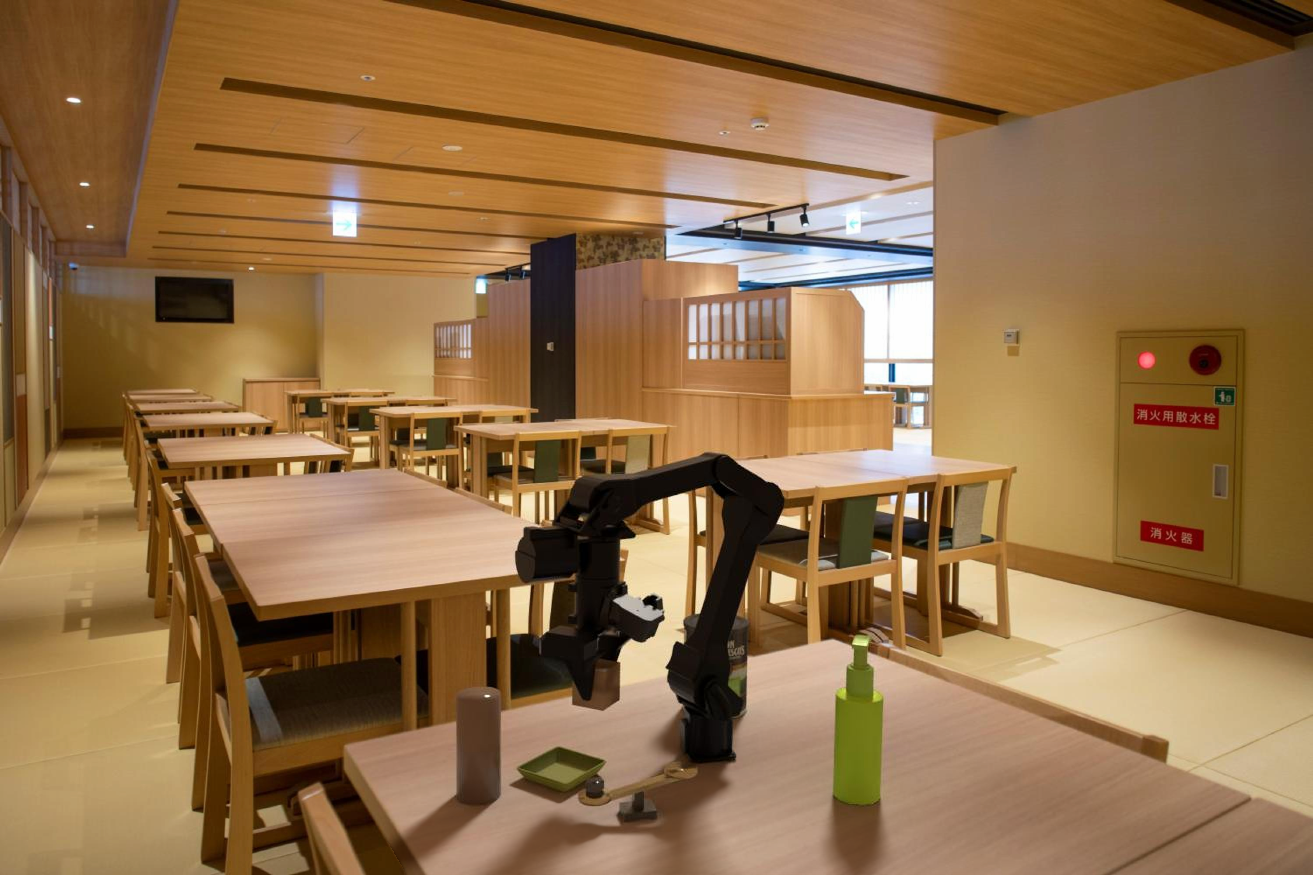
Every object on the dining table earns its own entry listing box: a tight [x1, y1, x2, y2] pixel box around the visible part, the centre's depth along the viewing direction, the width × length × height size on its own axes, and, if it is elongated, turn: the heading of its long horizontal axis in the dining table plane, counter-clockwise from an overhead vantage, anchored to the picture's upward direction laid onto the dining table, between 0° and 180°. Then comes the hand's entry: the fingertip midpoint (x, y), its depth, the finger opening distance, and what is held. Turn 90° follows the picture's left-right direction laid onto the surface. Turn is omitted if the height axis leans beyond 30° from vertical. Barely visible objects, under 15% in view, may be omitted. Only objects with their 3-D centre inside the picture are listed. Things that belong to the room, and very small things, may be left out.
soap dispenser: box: [832, 634, 884, 806], centre depth 120 cm, size 6×7×20 cm
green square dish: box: [515, 745, 607, 793], centre depth 125 cm, size 9×9×2 cm
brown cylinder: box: [455, 686, 502, 806], centre depth 119 cm, size 6×6×13 cm
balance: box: [577, 760, 698, 823], centre depth 115 cm, size 15×4×5 cm, turn 104°
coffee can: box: [681, 612, 750, 719], centre depth 149 cm, size 10×10×14 cm
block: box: [571, 659, 621, 712], centre depth 122 cm, size 4×4×5 cm
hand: (595, 694), depth 122 cm, fingers closed on block, 4 cm apart
